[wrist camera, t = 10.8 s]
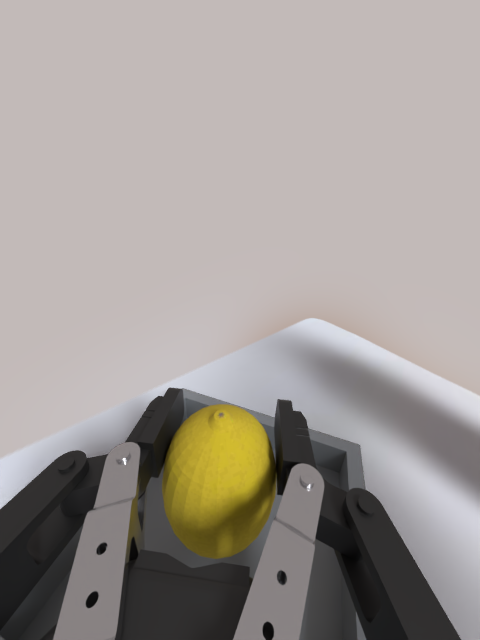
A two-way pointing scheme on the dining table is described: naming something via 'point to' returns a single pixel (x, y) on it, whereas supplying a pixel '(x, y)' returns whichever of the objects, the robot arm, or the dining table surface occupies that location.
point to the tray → (325, 578)
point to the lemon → (219, 481)
